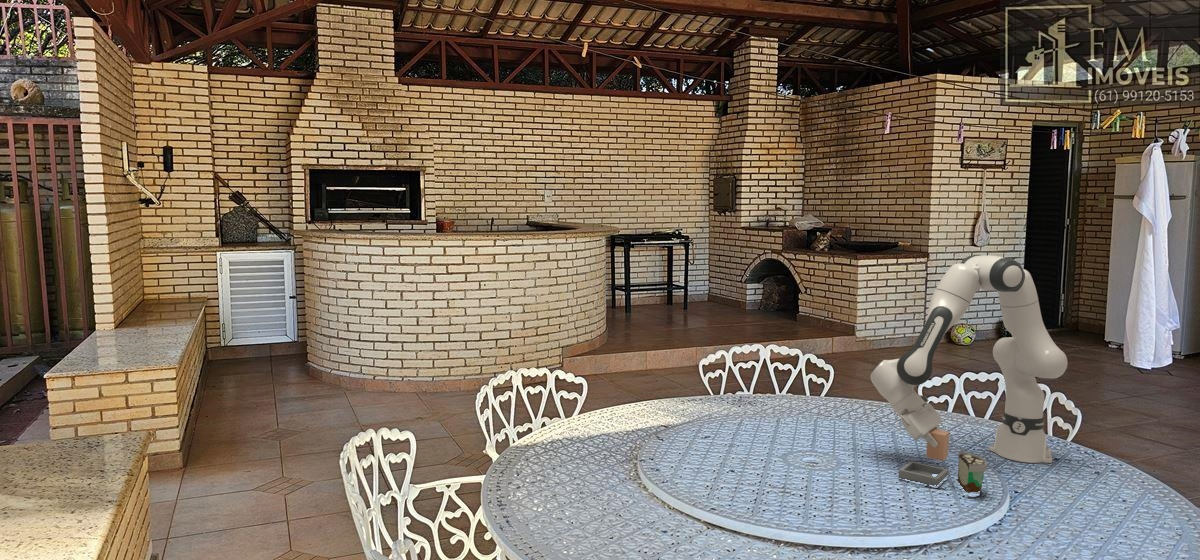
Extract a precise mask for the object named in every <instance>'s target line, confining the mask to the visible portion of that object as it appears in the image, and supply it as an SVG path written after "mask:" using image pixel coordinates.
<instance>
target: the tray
mask: <svg viewBox="0 0 1200 560" xmlns="http://www.w3.org/2000/svg"><path fill="white" fill-rule="evenodd" d="M932 474H938V475H937V476H936V477H933V476H932ZM947 475H948V476H949V469H948V468H943V467H938V466H934V465H929V464H926V463H922V462H917V461H912V460H910V461H909V462H907V463H906V464H904V466H902V467H901V468H900V469H898V477H897V478H901V479H907V480H910V481H915V482H920V483H924V484H930V485H936V486H937V485H938V484H939V483H940V482H941V481H942V480H943V479H944V478H945V477H946V476H947Z"/></svg>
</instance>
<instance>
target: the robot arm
mask: <svg viewBox="0 0 1200 560" xmlns="http://www.w3.org/2000/svg"><path fill="white" fill-rule="evenodd" d="M980 289H981V290H985V291H996V292H997V294H998V299H999V306H1000V310H1001V311H1000V313H1001V316H1002V322H1003V326H1004V328H1005V329H1006V330H1007V332H1009V333H1010V334H1011V336H1012V337H1010V336H1009V337H1001V338H999V339H998V340H997V341H996V342H995V344H994V346H993V348H992V356H993V360H994V361H996V363H997V364H998V366H999V368H1000V370H1001V372H1002V377H1003V380H1004V383H1005V385H1004V386H1005V404H1004V411H1003V412H1002V416H1001V417H1002V419H1001V420H1002V423H1001V424H1000V425H998V426H997V427H996V431H995V432H996V433H995V439H994V444H993V445H990V446H989V447H988V450H989V451H991V452H993V453H995V454H996V455H998V456H1000V457H1001V458H1004V459H1008V460H1012V461H1015V462H1022V463H1030V464H1031V463H1033V464H1037V463H1044V464H1051V463H1052V464H1053V456H1052V450H1051V448H1050V447H1049V446H1048V445H1047V438H1048V437H1047V436H1046V433H1045V431H1044V426H1045V417H1044V406H1045V405H1044V404H1045V393H1044V391H1043V389H1042V388H1041V387H1040V385H1039V384H1038V382H1037V379H1036V378H1040V379H1058V378H1059V377H1060V378H1061V376H1063V375H1064V373H1065V372H1066V370H1067V368H1068V358H1067V355H1066V353H1065V352H1064V351H1062V350H1061V349H1060V348H1059V346H1058V345H1056V343H1055V342H1054V341H1053V339H1052V337H1051V336H1050V333H1049V332H1048V330H1047V328H1046V326H1045V323H1044V320H1043V317H1042V312H1041V307H1040V302H1039V296H1038V292H1037V288H1036V285H1035V283H1034V280H1033V277H1032V274H1031V273H1030V272H1029V271H1028V270H1027V269H1024V268H1023V266H1022V265H1021V264H1020V262H1018V261H1016V260H1014V259H1012V258H1010V257H1004V256H999V255H992V254H991V255H990V254H989V255H985V254H983V255H982V254H972V255H968V256H967V257H965V258H964V259H962V260H961V262H959V263H954V264H952V265H951V266H950V267H949V268H948V269H947V270H946V272H945V273H944V275H943V276H942V278H941V279H940V281H939V282H938V284H937V286H936V288H935V289H934V292H933V293H932V296H931V298H930V301H929V303H928V309H927V316H926V320H925V324H924V325H923V327H922V329H921V331H920V333H919V335H918V337H917V338H916V341H915V343H914V344H913V346H912V347H911V349H909V350H908V351H907V352H905V353H903V355H902V356H900V357H899V358H895V359H883V360H881V361H879V362H878V363H877V364H876V365H875V366H874V367H873V369H872V370H871V371H870V375H869V376H870V381H871V382H872V384H873V386H874V387H875V389H876V390H877V391H878V392H879V394H880V396H882V397H883V398H884V399H885V400H886V401H888V404H889V406H890V407H891V409H892V410H893V411H894V412H895V413H896V415H898V417H899V419H900V420H901V424H902V426H903V427H904V429H905V430H906V432H907V433H908V434H909V436H910V437H911V438H912V439H913V440H914V441H918V440H920V439H921V438H923V440H924V441H925V442H926V443H927V442H929V443H930V444H931V445H932V446H933V447H936V446H938V445H939V442H938V441H937V440H936V439H934V438H933V437H932V436H931V434H930V433H929V431H931V430H932V429H938V430H941V428H940V427H939V425H940V424H942V422H943V420H942V417H941V416H940V415H939V413H938V412H937V410H936V409H935V408H934V406H933V405H932V404H931V403H929V399H928V398H927V396H925V395H922V394H921V395H920V394H918V393H917V392H916V391H915V389H914V388H915V387H916V386H919V385H923V384H925V383H926V382H928V380H929V379H930V377H931V376H932V374H933V358H934V356H935V353H936V351H937V349H938V348H939V345H940V344H941V342H942V340H943V338H944V336H945V334H946V333H947V331H948V330H950V328H952V327H954V325H956V324H957V323H958V322H960V320H961V319H962V318H963V316H964V315H965V314H966V312H967V310H968V309H969V307H970V305H971V303H972V301H973V299H974V297H975V294H976V293H977V292H978V291H979V290H980Z"/></svg>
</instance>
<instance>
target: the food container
mask: <svg viewBox="0 0 1200 560" xmlns="http://www.w3.org/2000/svg"><path fill="white" fill-rule="evenodd" d="M957 459H958V463H957V464H958V465H957V481H958V482H959V483H960V485H961V486H962V487H963V489H964V490H965V491H966V492H968V493H970V492H978V491H980V490H981V491H982V486H983V482H984V476H985V474H984V473H985V472H986V471H987V470H988V464H987V461H986V459H985V458H984V457H982V456H979V455H977V454H974V453H971V452H965V451H958V456H957Z"/></svg>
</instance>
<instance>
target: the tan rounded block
mask: <svg viewBox="0 0 1200 560" xmlns="http://www.w3.org/2000/svg"><path fill="white" fill-rule="evenodd" d="M929 433H930V434H931V436H932V437H933V438H934V439H936V440H937V441H938V442H939V445H938V446H936V447H933V446H932V445H931V444H930V443H929V442H927V441H926V456H925V458H929V459H933V460H938V461H943V462H944V461H945V460H946V459H948V457H949V444H950V431H946V430H941V429H940V430H938V429H932V430H931V431H929Z"/></svg>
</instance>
